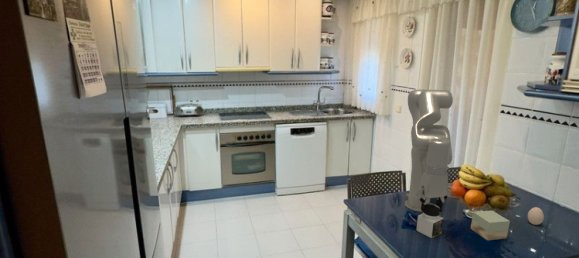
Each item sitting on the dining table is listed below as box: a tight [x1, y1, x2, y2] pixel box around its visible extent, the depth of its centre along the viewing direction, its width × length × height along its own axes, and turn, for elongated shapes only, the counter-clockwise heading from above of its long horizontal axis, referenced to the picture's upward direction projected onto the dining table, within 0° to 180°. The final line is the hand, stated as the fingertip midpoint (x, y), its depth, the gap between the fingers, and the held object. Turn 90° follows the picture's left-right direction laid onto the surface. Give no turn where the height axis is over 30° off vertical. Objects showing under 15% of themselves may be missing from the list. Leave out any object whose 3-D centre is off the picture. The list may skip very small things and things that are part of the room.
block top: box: [471, 210, 511, 232], centre depth 127 cm, size 9×9×4 cm
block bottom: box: [470, 220, 509, 241], centre depth 128 cm, size 9×9×4 cm
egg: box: [527, 206, 545, 226], centre depth 135 cm, size 6×6×8 cm
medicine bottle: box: [416, 203, 444, 239], centre depth 128 cm, size 7×7×12 cm
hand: (431, 210), depth 127 cm, fingers closed on medicine bottle, 6 cm apart
